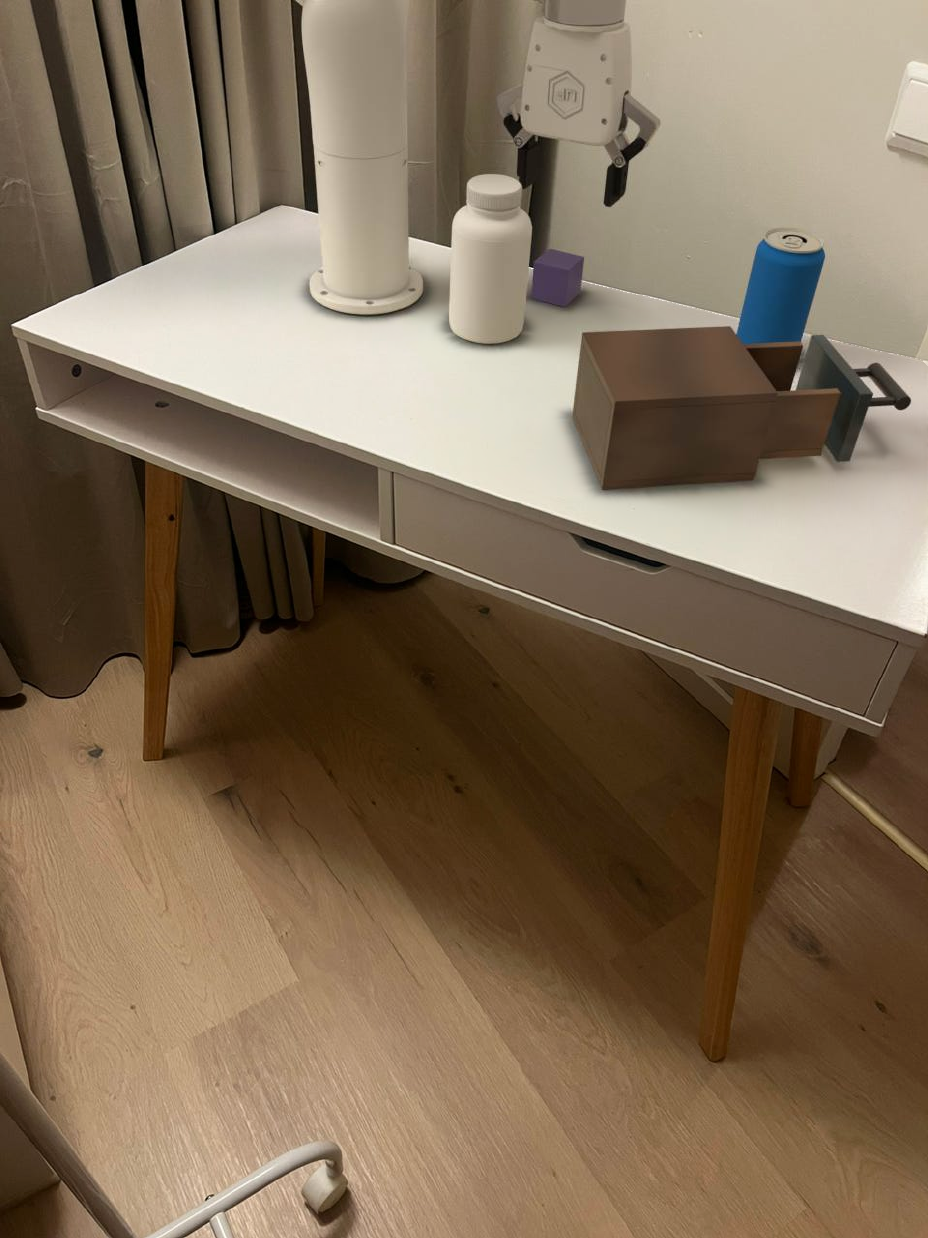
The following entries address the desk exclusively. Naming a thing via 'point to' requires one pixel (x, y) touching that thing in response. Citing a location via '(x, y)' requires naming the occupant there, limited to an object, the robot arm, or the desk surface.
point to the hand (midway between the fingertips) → (569, 193)
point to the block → (557, 277)
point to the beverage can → (781, 286)
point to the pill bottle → (490, 261)
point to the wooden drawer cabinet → (671, 406)
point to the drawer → (819, 399)
